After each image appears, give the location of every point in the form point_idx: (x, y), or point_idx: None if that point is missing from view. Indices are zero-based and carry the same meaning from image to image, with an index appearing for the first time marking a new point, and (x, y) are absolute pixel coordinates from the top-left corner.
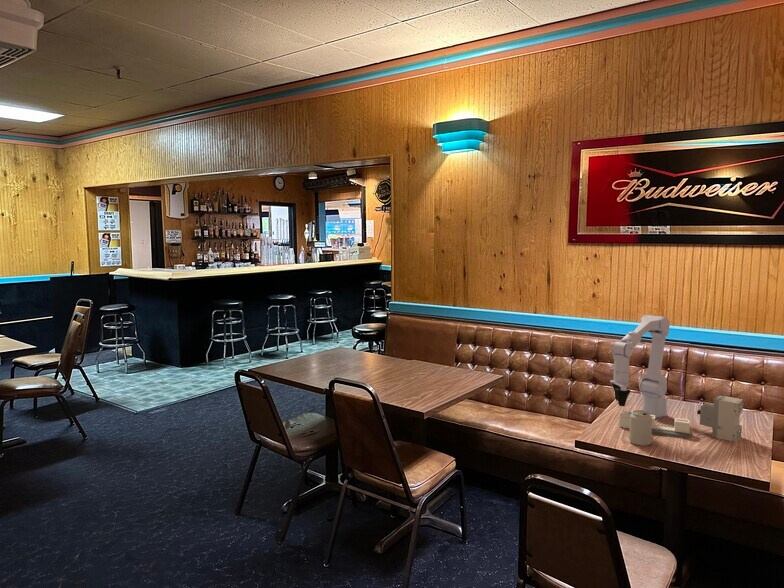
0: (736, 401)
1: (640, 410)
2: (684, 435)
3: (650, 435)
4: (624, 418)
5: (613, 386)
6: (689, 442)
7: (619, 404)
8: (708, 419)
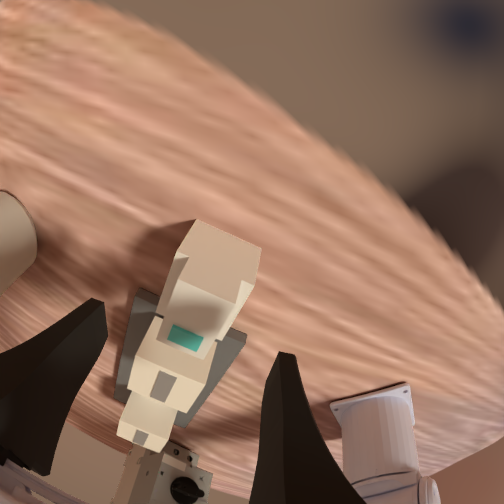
0: None
1: None
2: (115, 390)
3: None
4: (169, 276)
5: (284, 493)
6: None
7: (81, 307)
8: (149, 472)
